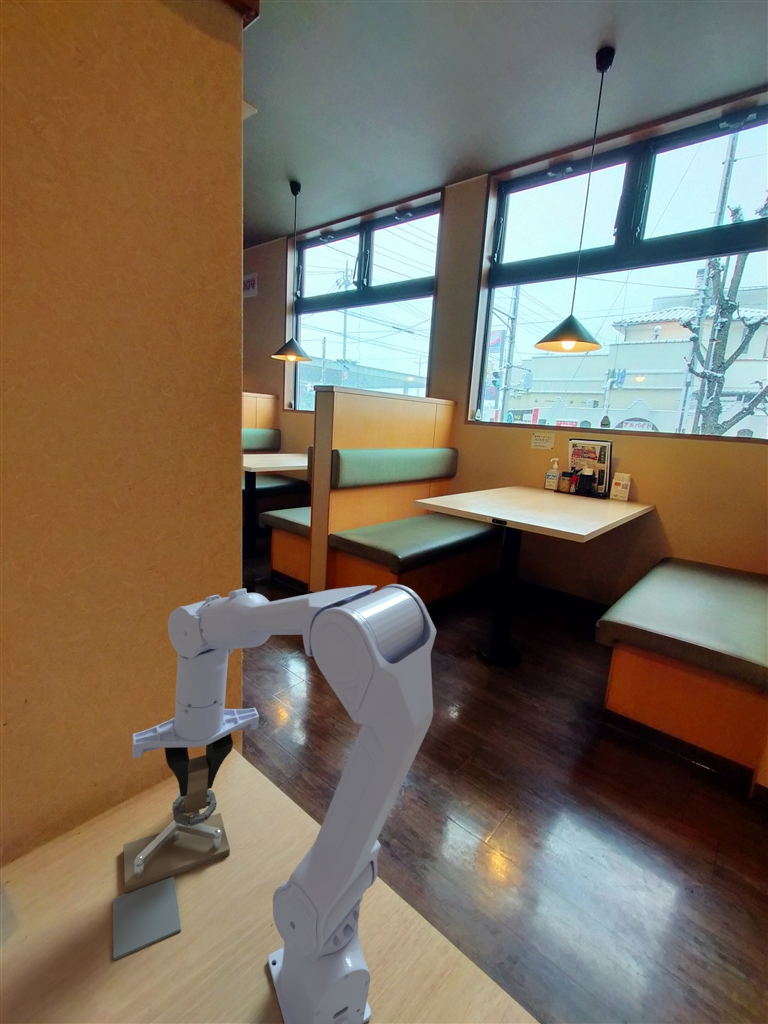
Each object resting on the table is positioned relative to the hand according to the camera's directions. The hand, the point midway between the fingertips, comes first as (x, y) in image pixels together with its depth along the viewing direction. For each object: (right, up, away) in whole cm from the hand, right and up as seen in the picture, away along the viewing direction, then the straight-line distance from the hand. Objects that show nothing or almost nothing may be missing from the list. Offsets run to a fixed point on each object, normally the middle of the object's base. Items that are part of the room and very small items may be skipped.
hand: (195, 786), depth 58 cm
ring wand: (0, -3, +1) cm, 3 cm away
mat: (-3, -11, -7) cm, 13 cm away
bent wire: (-3, -9, +1) cm, 10 cm away
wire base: (-3, -9, +1) cm, 10 cm away
